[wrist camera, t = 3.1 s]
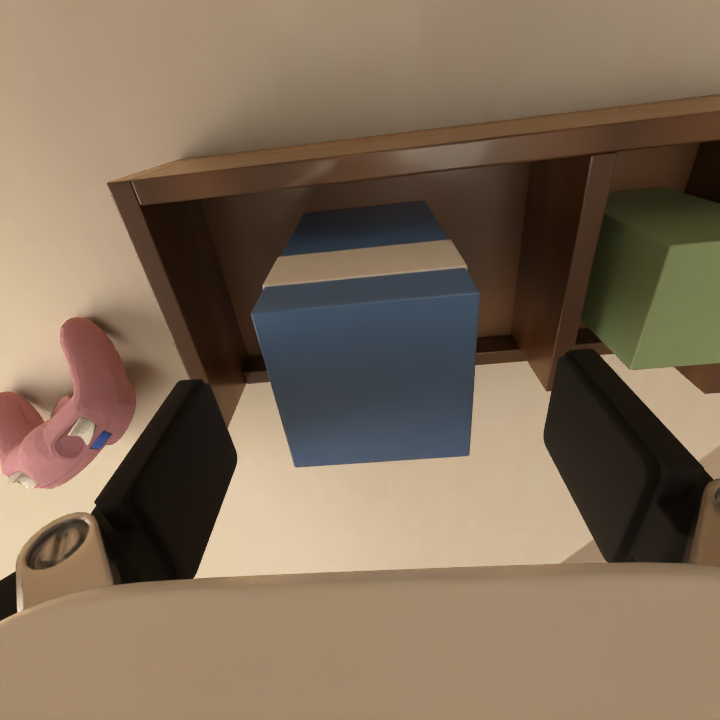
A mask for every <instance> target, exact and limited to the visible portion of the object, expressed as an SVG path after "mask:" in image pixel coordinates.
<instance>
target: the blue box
mask: <svg viewBox="0 0 720 720" xmlns="http://www.w3.org/2000/svg"><path fill="white" fill-rule="evenodd" d="M479 301H480V292H479V290H478V288H477V287H476V285H475V283H474V282H473V280H472V278H471V277H470V275H469V273H468V272H467V265H466V263H465V262H464V260H463V258H462V257H461V255H460V253H459V252H458V250H457V249H456V247H455V245H454V244H453V242H452V241H451V240H450V239H449V240H448V238H447V237H446V235H445V233H444V232H443V230H442V228H441V227H440V225H439V223H438V222H437V220H436V218H435V217H434V215H433V213H432V212H431V210H430V208H429V207H428V205H427V203H426V202H425V201H424V200H423V201H413V202H404V203H395V204H386V205H377V206H368V207H358V208H349V209H340V210H331V211H322V212H313V213H304V214H303V215H302V217H301V219H300V221H299V223H298V225H297V227H296V229H295V231H294V232H293V234H292V236H291V238H290V240H289V242H288V244H287V246H286V248H285V250H284V251H283V253H282V255H281V257H278V258H277V260H276V262H275V264H274V265H273V267H272V269H271V271H270V273H269V275H268V276H267V278H266V280H265V282H264V284H263V291H262V293H261V295H260V297H259V299H258V301H257V303H256V305H255V307H254V309H253V311H252V312H251V316H252V320H253V323H254V327H255V330H256V334H257V337H258V341H259V344H260V348H261V351H262V355H263V358H264V362H265V365H266V368H267V372H268V375H269V379H270V382H271V386H272V389H273V393H274V396H275V400H276V403H277V407H278V410H279V414H280V417H281V421H282V424H283V428H284V431H285V435H286V438H287V442H288V445H289V449H290V452H291V456H292V459H293V463H294V466H295V467H310V466H324V465H339V464H354V463H369V462H384V461H399V460H414V459H429V458H444V457H459V456H469V452H470V437H471V422H472V407H473V392H474V376H475V361H476V346H477V331H478V316H479Z"/></svg>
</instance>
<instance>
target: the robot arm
mask: <svg viewBox="0 0 720 720" xmlns="http://www.w3.org/2000/svg"><path fill="white" fill-rule="evenodd" d="M544 443H545V446H546V448H547V450H548V452H549V454H550V456H551V457H552V459H553V461H554V463H555V465H556V467H557V469H558V471H559V473H560V475H561V477H562V479H563V481H564V482H565V484H566V486H567V488H568V490H569V492H570V494H571V496H572V498H573V500H574V502H575V504H576V505H577V507H578V509H579V511H580V513H581V515H582V517H583V519H584V521H585V523H586V525H587V527H588V529H589V530H590V532H591V534H592V536H593V538H594V540H595V542H596V544H597V546H598V548H599V550H600V552H601V553H602V555H603V557H604V559H605V560H606V561H607V562H608V563H581V564H580V563H578V564H576V563H575V564H574V563H573V564H541V565H512V566H483V567H454V568H428V569H403V570H377V571H353V572H328V573H305V574H283V575H261V576H239V577H217V578H199V579H193V578H194V577H195V575H196V573H197V570H198V568H199V565H200V562H201V560H202V557H203V554H204V551H205V549H206V546H207V543H208V541H209V538H210V535H211V532H212V530H213V527H214V524H215V522H216V519H217V516H218V514H219V511H220V508H221V505H222V503H223V500H224V497H225V495H226V492H227V489H228V486H229V484H230V481H231V478H232V476H233V473H234V470H235V468H236V464H237V453H236V450H235V447H234V445H233V442H232V439H231V437H230V434H229V432H228V429H227V426H226V424H225V421H224V418H223V416H222V413H221V411H220V408H219V405H218V403H217V400H216V397H215V395H214V392H213V390H212V387H211V385H210V384H208V383H207V384H205V382H204V381H203V380H202V379H192V380H181V381H178V382H177V384H176V385H175V386H174V388H173V389H172V391H171V392H170V394H169V395H168V397H167V398H166V399H165V401H164V402H163V404H162V405H161V407H160V408H159V409H158V411H157V412H156V414H155V415H154V417H153V418H152V420H151V421H150V422H149V424H148V425H147V427H146V428H145V430H144V431H143V432H142V434H141V435H140V437H139V438H138V440H137V441H136V443H135V444H134V445H133V447H132V448H131V450H130V451H129V453H128V454H127V456H126V457H125V458H124V460H123V461H122V463H121V464H120V466H119V467H118V468H117V470H116V471H115V473H114V474H113V476H112V477H111V479H110V480H109V481H108V483H107V484H106V486H105V487H104V489H103V490H102V492H101V493H100V494H99V496H98V497H97V499H96V500H95V502H94V503H95V504H96V507H95V508H94V510H93V511H92V513H91V514H89V513H85V512H77V513H72V514H68V515H65V516H63V517H60V518H58V519H56V520H54V521H52V522H51V523H49V524H47V525H46V526H44V527H43V528H41V529H40V530H39V531H38V532H37V533H36V534H34V535H33V536H32V537H31V538H30V539H29V541H28V542H27V543H26V544H25V545H24V546H23V548H22V550H21V552H20V553H19V555H18V557H17V562H16V571H15V572H14V573H12V574H10V575H9V576H7V577H5V578H4V579H2V580H1V581H0V720H720V479H715V480H713V479H712V478H711V476H710V475H709V474H708V473H707V472H706V471H705V470H704V468H703V466H702V465H701V464H700V463H699V462H698V461H697V460H696V459H695V458H694V457H693V456H692V455H691V453H690V452H689V451H688V450H687V449H686V448H685V447H684V446H683V445H682V444H681V443H680V442H679V441H678V439H677V438H676V437H675V436H674V435H673V434H672V433H671V432H670V431H669V430H668V429H667V428H666V427H665V425H664V424H663V423H662V422H661V421H660V420H659V419H658V418H657V417H656V416H655V415H654V414H653V412H652V411H651V410H650V409H649V408H648V407H647V406H646V405H645V404H644V403H643V402H642V401H641V400H640V398H639V397H638V396H637V395H636V394H635V393H634V392H633V391H632V390H631V389H630V388H629V387H628V386H627V384H626V383H625V382H624V381H623V380H622V379H621V378H620V377H619V376H618V375H617V374H616V373H615V371H614V370H613V369H612V368H611V367H610V366H609V365H608V364H607V363H606V362H605V361H604V360H603V359H602V357H601V356H600V355H599V354H598V353H597V352H596V351H595V350H594V349H578V350H568V351H567V352H566V353H565V355H564V356H561V357H559V359H558V361H557V366H556V371H555V376H554V382H553V387H552V392H551V397H550V402H549V407H548V413H547V418H546V423H545V428H544Z"/></svg>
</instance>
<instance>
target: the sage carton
mask: <svg viewBox="0 0 720 720" xmlns="http://www.w3.org/2000/svg"><path fill="white" fill-rule="evenodd" d="M581 320H582V321H583V322H584V323H585V325H586V326H587V327H588V328H589V329H590V330H591V331H592V332H593V333H594V334H595V335H596V336H597V337H598V338H599V339H600V340H601V341H602V342H603V343H604V344H605V345H606V346H607V347H608V348H609V349H610V350H611V351H612V352H613V353H614V354H615V355H616V356H617V357H618V358H619V359H620V360H621V361H622V362H623V363H624V364H625V365H626V366H627V367H628V368H629V369H630V370H638V369H651V368H663V367H676V366H689V365H701V364H714V363H720V204H719V203H716V202H713V201H709V200H706V199H703V198H699V197H696V196H692V195H689V194H686V193H682V192H679V191H675V190H672V189H669V188H665V187H654V188H644V189H635V190H626V191H616V192H609V195H608V200H607V204H606V209H605V213H604V217H603V222H602V226H601V231H600V235H599V240H598V244H597V249H596V253H595V257H594V262H593V266H592V271H591V275H590V280H589V284H588V288H587V293H586V297H585V302H584V306H583V311H582V315H581Z"/></svg>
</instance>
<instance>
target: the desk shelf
mask: <svg viewBox="0 0 720 720" xmlns="http://www.w3.org/2000/svg"><path fill="white" fill-rule="evenodd" d="M107 186H108V189H109V191H110V193H111V196H112V198H113V200H114V203H115V205H116V207H117V210H118V212H119V214H120V217H121V219H122V221H123V224H124V226H125V229H126V231H127V233H128V236H129V238H130V240H131V243H132V245H133V247H134V250H135V252H136V254H137V257H138V259H139V261H140V264H141V266H142V269H143V271H144V273H145V276H146V278H147V280H148V283H149V285H150V287H151V290H152V292H153V294H154V297H155V299H156V301H157V304H158V306H159V309H160V311H161V313H162V316H163V318H164V320H165V323H166V325H167V327H168V330H169V332H170V334H171V337H172V339H173V341H174V344H175V346H176V349H177V351H178V353H179V356H180V358H181V360H182V363H183V365H184V367H185V370H186V372H187V374H188V377H189V379H190V380H192V379H202V380H203V381H204V382H205V384H207V383H208V384H210V385H211V387H212V390H213V392H214V395H215V397H216V400H217V403H218V405H219V408H220V411H221V413H222V416H223V418H224V421H225V424H226V426H227V428H228V426H229V424H230V421H231V419H232V416H233V414H234V412H235V409H236V407H237V404H238V402H239V399H240V397H241V395H242V392H243V390H244V387H245V385H246V383H247V384H250V383H262V382H270V379H269V375H268V372H267V368H266V365H265V362H264V358H263V355H262V351H261V348H260V344H259V341H258V337H257V334H256V330H255V327H254V323H253V320H252V316H251V312H252V311H253V309H254V307H255V305H256V303H257V301H258V299H259V297H260V295H261V293H262V291H263V284H264V282H265V280H266V278H267V276H268V275H269V273H270V271H271V269H272V267H273V265H274V264H275V262H276V260H277V258H278V257H281V255H282V253H283V251H284V250H285V248H286V246H287V244H288V242H289V240H290V238H291V236H292V234H293V232H294V231H295V229H296V227H297V225H298V223H299V221H300V219H301V217H302V215H303V214H304V213H313V212H322V211H331V210H340V209H349V208H358V207H368V206H377V205H386V204H395V203H404V202H413V201H423V200H424V201H425V202H426V203H427V205H428V207H429V208H430V210H431V212H432V213H433V215H434V217H435V218H436V220H437V222H438V223H439V225H440V227H441V228H442V230H443V232H444V233H445V235H446V237H447V238H448V240H449V239H450V240H451V241H452V242H453V244H454V245H455V247H456V249H457V250H458V252H459V253H460V255H461V257H462V258H463V260H464V262H465V263H466V265H467V272H468V273H469V275H470V277H471V278H472V280H473V282H474V283H475V285H476V287H477V288H478V290H479V292H480V301H479V316H478V331H477V346H476V361H475V365H483V364H495V363H507V362H519V361H528V363H529V364H530V366H531V368H532V369H533V371H534V372H535V374H536V376H537V377H538V379H539V380H540V382H541V384H542V385H543V387H544V388H545V390H546V391H552V387H553V382H554V376H555V371H556V366H557V361H558V359H559V357H561V356H564V355H565V353H566V352H567V351H568V350H578V349H594V350H595V351H596V352H597V353H598V354H599V355H605V354H614V353H613V352H612V351H611V350H610V349H609V348H608V347H607V346H606V345H605V344H604V343H603V342H602V341H601V340H600V339H599V338H598V337H597V336H596V335H595V334H594V333H593V332H592V331H591V330H590V329H589V328H588V327H587V326H586V325H585V323H584V322H583V321H582V320H581V315H582V311H583V306H584V302H585V297H586V293H587V288H588V284H589V280H590V275H591V271H592V266H593V262H594V257H595V253H596V249H597V244H598V240H599V235H600V231H601V226H602V222H603V217H604V213H605V209H606V204H607V200H608V195H609V192H616V191H626V190H635V189H644V188H654V187H665V188H669V189H672V190H675V191H679V192H682V193H686V194H689V195H692V196H696V197H699V198H703V199H706V200H709V201H713V202H716V203H719V204H720V94H718V95H710V96H701V97H693V98H685V99H677V100H668V101H660V102H652V103H643V104H635V105H627V106H618V107H610V108H602V109H594V110H585V111H577V112H569V113H560V114H552V115H544V116H536V117H527V118H519V119H511V120H502V121H494V122H486V123H478V124H469V125H461V126H453V127H444V128H436V129H428V130H419V131H411V132H403V133H395V134H386V135H378V136H370V137H361V138H353V139H345V140H337V141H328V142H320V143H312V144H303V145H295V146H287V147H279V148H270V149H262V150H254V151H245V152H237V153H229V154H220V155H212V156H204V157H196V158H187V159H179V160H175V161H172V162H169V163H166V164H163V165H160V166H157V167H154V168H151V169H148V170H145V171H142V172H139V173H136V174H132V175H129V176H126V177H123V178H120V179H117V180H114V181H111V182H108V183H107ZM674 368H676V369H677V370H678V371H679V372H680V373H681V374H682V375H684V376H685V377H686V378H687V379H688V380H689V381H691V382H692V383H693V384H694V385H695V386H696V387H697V388H699V389H700V390H701V391H702V392H703V393H705V394H708V393H720V363H714V364H701V365H689V366H676V367H674Z"/></svg>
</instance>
